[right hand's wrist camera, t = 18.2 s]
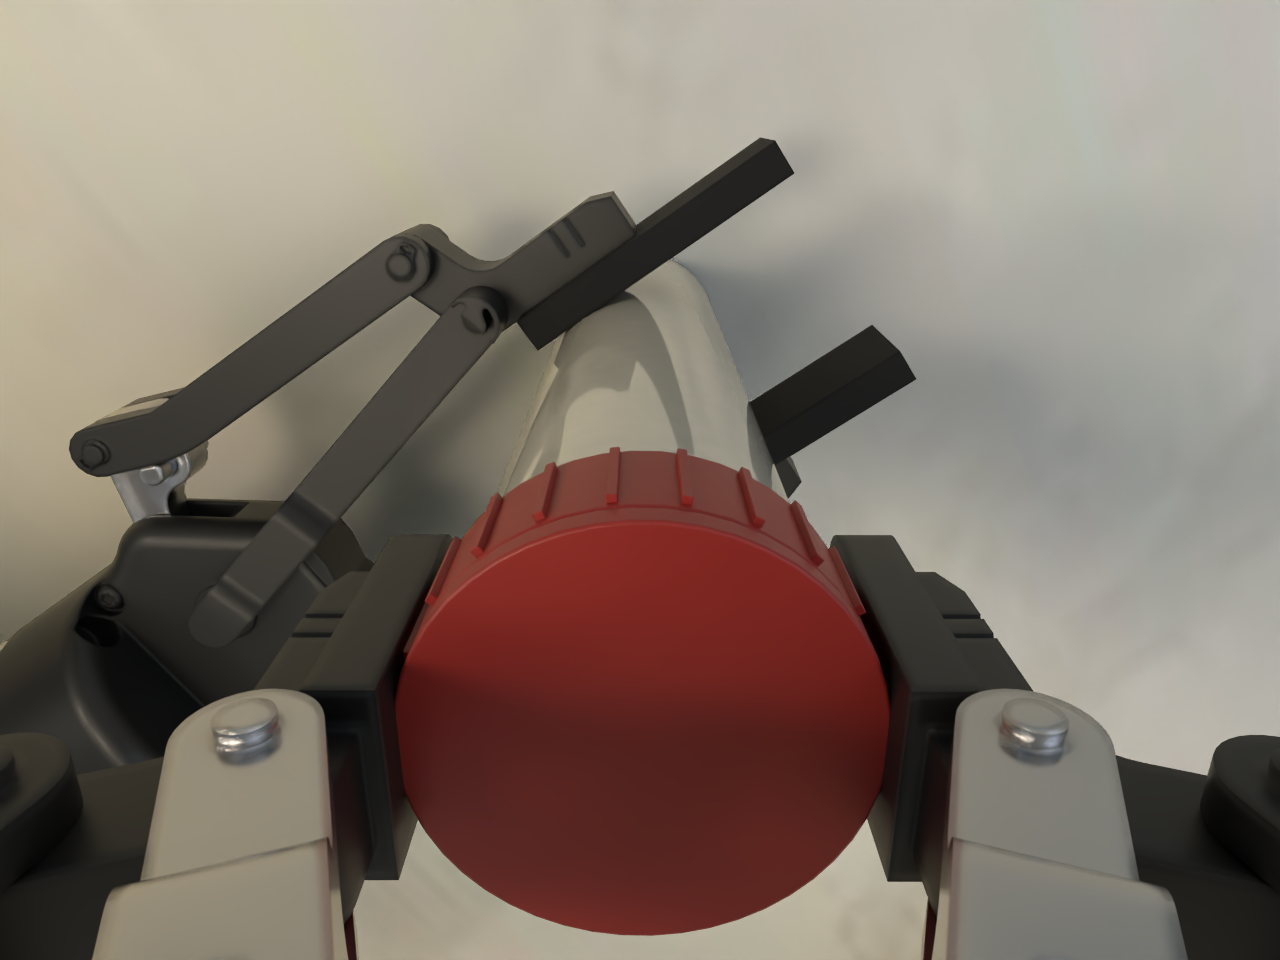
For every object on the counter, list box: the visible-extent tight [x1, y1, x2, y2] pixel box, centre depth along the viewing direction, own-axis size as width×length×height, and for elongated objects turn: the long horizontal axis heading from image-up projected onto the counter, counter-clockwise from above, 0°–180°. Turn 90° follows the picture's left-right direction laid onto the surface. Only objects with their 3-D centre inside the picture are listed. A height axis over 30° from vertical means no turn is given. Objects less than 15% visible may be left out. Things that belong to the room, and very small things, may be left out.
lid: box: [395, 447, 890, 936], centre depth 10 cm, size 5×5×2 cm
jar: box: [497, 260, 789, 503], centre depth 19 cm, size 4×4×19 cm
